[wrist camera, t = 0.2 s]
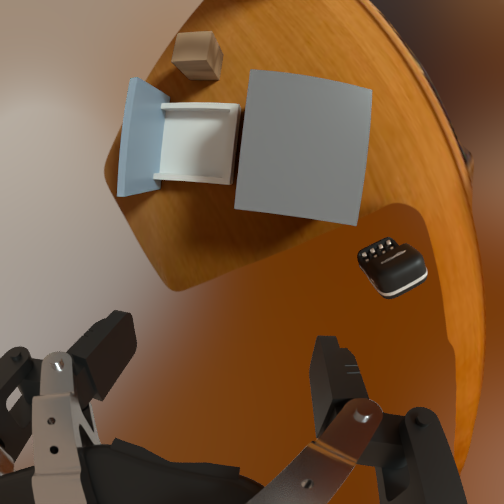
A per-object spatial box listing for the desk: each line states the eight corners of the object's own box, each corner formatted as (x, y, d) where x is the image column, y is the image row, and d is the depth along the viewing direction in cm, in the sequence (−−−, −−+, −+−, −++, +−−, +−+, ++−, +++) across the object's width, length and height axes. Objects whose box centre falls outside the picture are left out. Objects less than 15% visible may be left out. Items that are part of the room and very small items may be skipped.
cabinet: (257, 99, 33) (250, 69, 22) (343, 112, 33) (372, 90, 21) (246, 196, 37) (234, 208, 26) (331, 208, 37) (356, 225, 25)
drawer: (164, 97, 34) (130, 78, 23) (242, 98, 33) (231, 72, 23) (154, 188, 38) (117, 196, 28) (231, 195, 37) (215, 204, 27)
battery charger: (390, 229, 37) (427, 251, 26) (397, 251, 38) (433, 278, 27) (351, 248, 38) (377, 277, 27) (359, 270, 39) (385, 304, 28)
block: (194, 55, 32) (177, 33, 24) (223, 54, 31) (212, 31, 24) (190, 80, 33) (171, 61, 25) (219, 80, 33) (206, 60, 25)
